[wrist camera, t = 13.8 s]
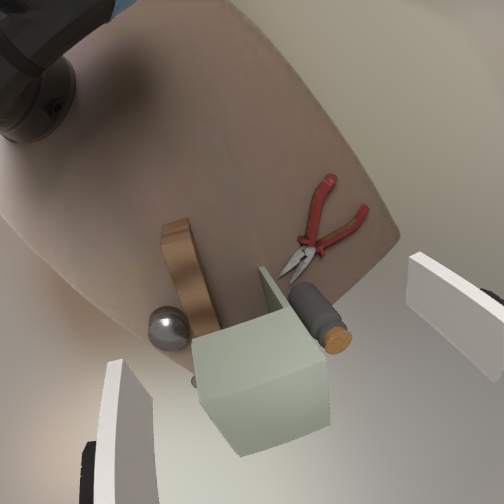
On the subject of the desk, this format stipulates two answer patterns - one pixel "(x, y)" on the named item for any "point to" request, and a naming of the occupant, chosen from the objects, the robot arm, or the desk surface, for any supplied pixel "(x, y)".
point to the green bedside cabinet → (262, 378)
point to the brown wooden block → (189, 277)
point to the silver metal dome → (168, 328)
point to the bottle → (320, 318)
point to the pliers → (312, 227)
